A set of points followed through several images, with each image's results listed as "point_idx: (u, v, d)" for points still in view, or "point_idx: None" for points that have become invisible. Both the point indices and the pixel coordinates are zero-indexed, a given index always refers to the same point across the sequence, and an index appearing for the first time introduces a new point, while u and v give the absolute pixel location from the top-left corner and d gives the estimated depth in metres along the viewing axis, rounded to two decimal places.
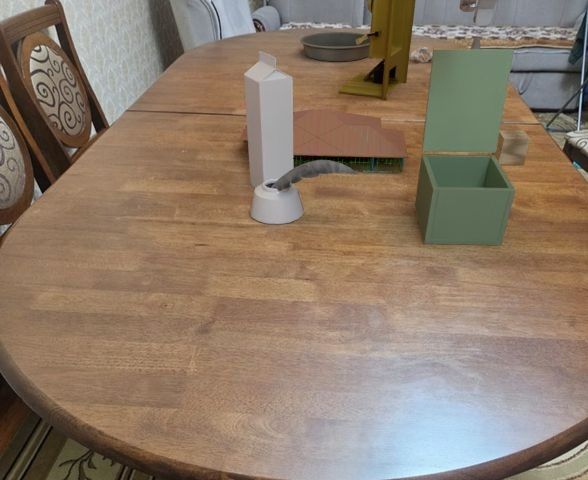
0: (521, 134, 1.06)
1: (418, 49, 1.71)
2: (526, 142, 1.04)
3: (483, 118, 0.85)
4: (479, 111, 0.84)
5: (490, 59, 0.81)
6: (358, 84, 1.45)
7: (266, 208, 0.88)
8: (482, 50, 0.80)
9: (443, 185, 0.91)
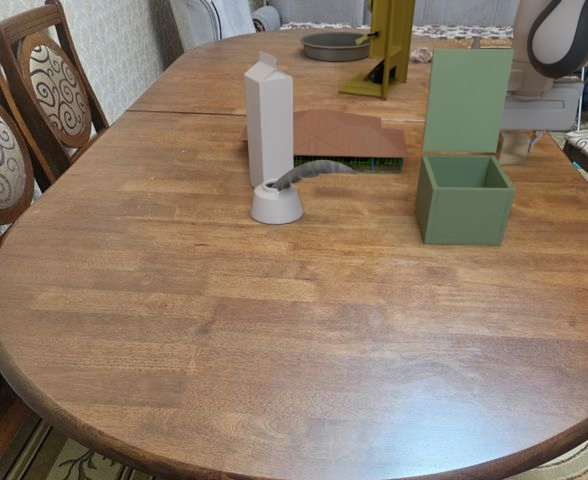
0: (521, 134, 1.06)
1: (418, 49, 1.71)
2: (526, 142, 1.04)
3: (483, 118, 0.85)
4: (479, 111, 0.84)
5: (490, 59, 0.81)
6: (358, 84, 1.45)
7: (266, 208, 0.88)
8: (482, 50, 0.80)
9: (443, 185, 0.91)
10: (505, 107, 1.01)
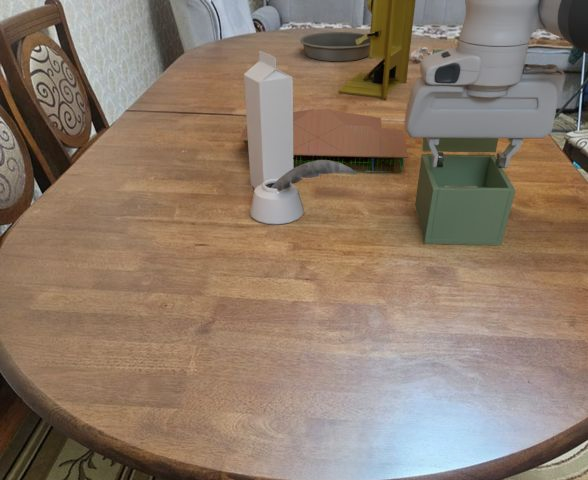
0: None
1: (418, 49, 1.71)
2: None
3: None
4: None
5: None
6: (358, 84, 1.45)
7: (266, 208, 0.88)
8: None
9: (443, 185, 0.91)
10: (459, 107, 0.75)
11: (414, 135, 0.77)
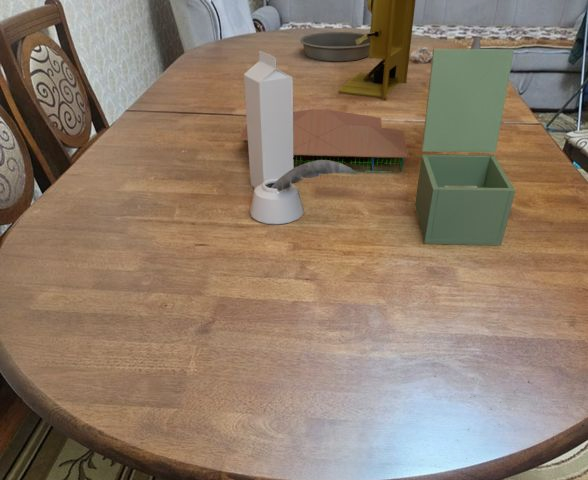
0: None
1: (418, 49, 1.71)
2: None
3: (483, 118, 0.85)
4: (479, 111, 0.84)
5: (490, 59, 0.81)
6: (358, 84, 1.45)
7: (266, 208, 0.88)
8: (482, 50, 0.80)
9: (443, 185, 0.91)
10: None
11: None
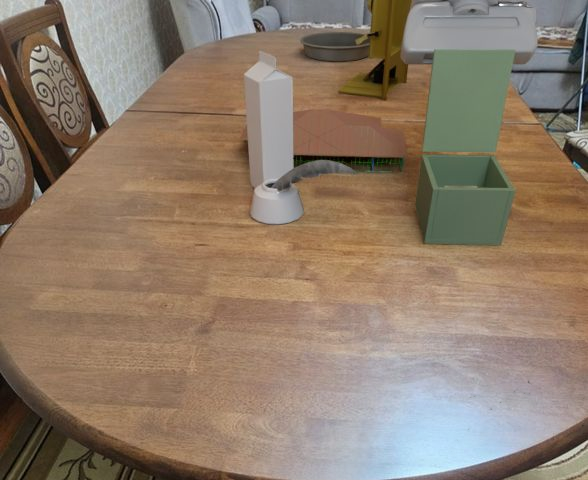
0: None
1: None
2: None
3: (484, 119, 0.84)
4: (479, 112, 0.84)
5: (491, 59, 0.80)
6: (358, 84, 1.45)
7: (266, 208, 0.88)
8: (483, 50, 0.80)
9: (443, 185, 0.91)
10: (448, 26, 0.83)
11: (410, 48, 0.83)
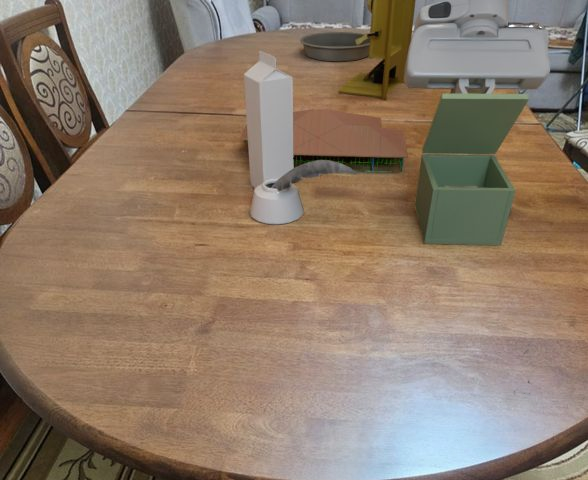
0: None
1: None
2: None
3: (487, 137, 0.83)
4: (483, 133, 0.82)
5: (502, 104, 0.75)
6: (358, 84, 1.45)
7: (266, 208, 0.88)
8: (494, 99, 0.73)
9: (443, 185, 0.91)
10: (455, 49, 0.78)
11: (414, 73, 0.78)
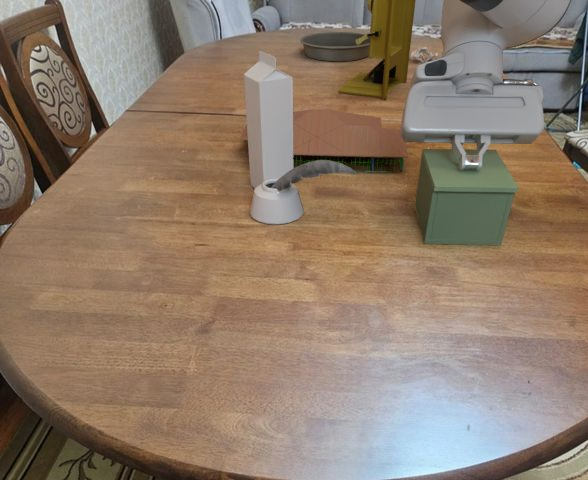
0: None
1: (418, 49, 1.71)
2: None
3: None
4: None
5: None
6: (358, 84, 1.45)
7: (266, 208, 0.88)
8: (484, 191, 0.77)
9: None
10: (451, 105, 0.79)
11: (411, 129, 0.79)
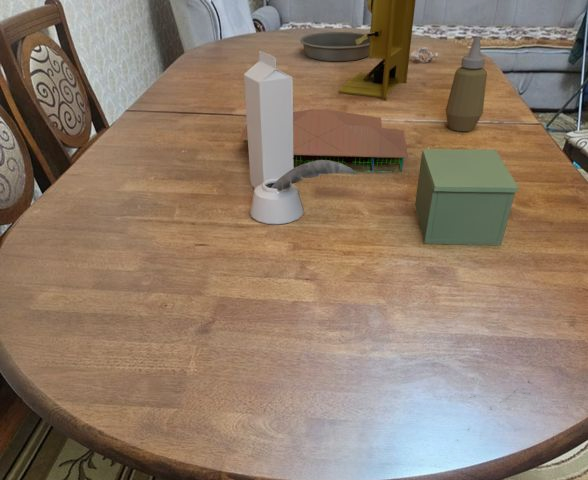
0: None
1: (418, 49, 1.71)
2: None
3: None
4: None
5: None
6: (358, 84, 1.45)
7: (266, 208, 0.88)
8: (484, 191, 0.77)
9: None
10: None
11: None
